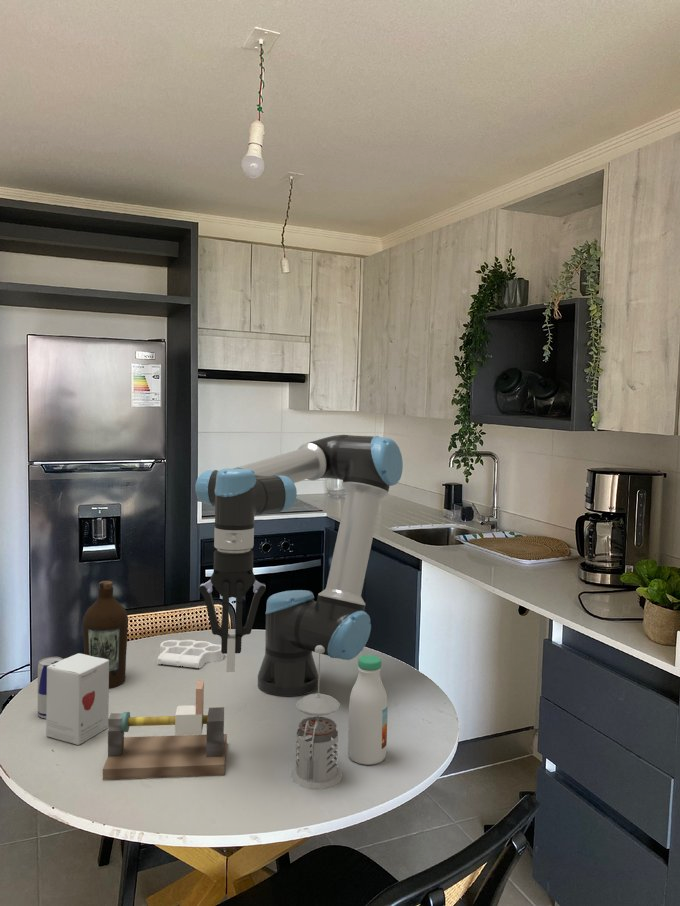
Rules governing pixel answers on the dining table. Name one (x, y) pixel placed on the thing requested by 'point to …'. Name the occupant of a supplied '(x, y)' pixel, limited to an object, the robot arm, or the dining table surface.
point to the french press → (317, 741)
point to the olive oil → (107, 632)
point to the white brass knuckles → (188, 653)
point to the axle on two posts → (164, 749)
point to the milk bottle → (368, 714)
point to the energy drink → (44, 683)
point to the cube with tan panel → (191, 715)
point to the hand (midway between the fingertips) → (230, 669)
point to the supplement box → (77, 698)
